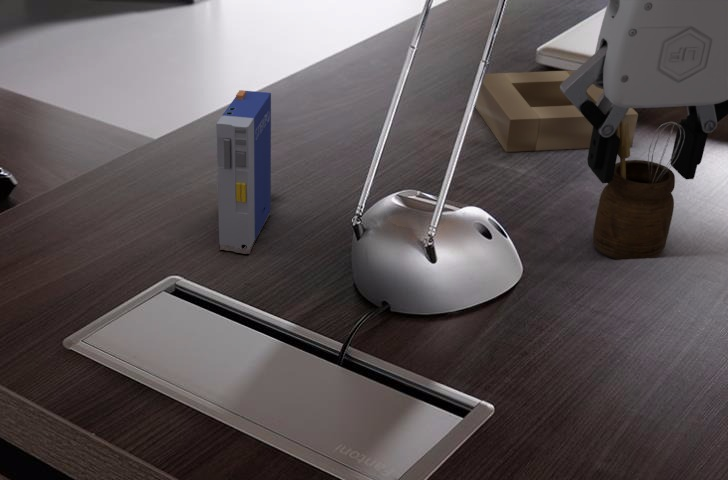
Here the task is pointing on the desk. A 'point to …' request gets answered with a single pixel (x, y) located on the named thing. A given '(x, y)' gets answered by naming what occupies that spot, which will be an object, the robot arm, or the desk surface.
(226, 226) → the blue grey plc module
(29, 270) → the desk surface
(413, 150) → the desk surface
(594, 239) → the utensil holder
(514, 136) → the socket pad
